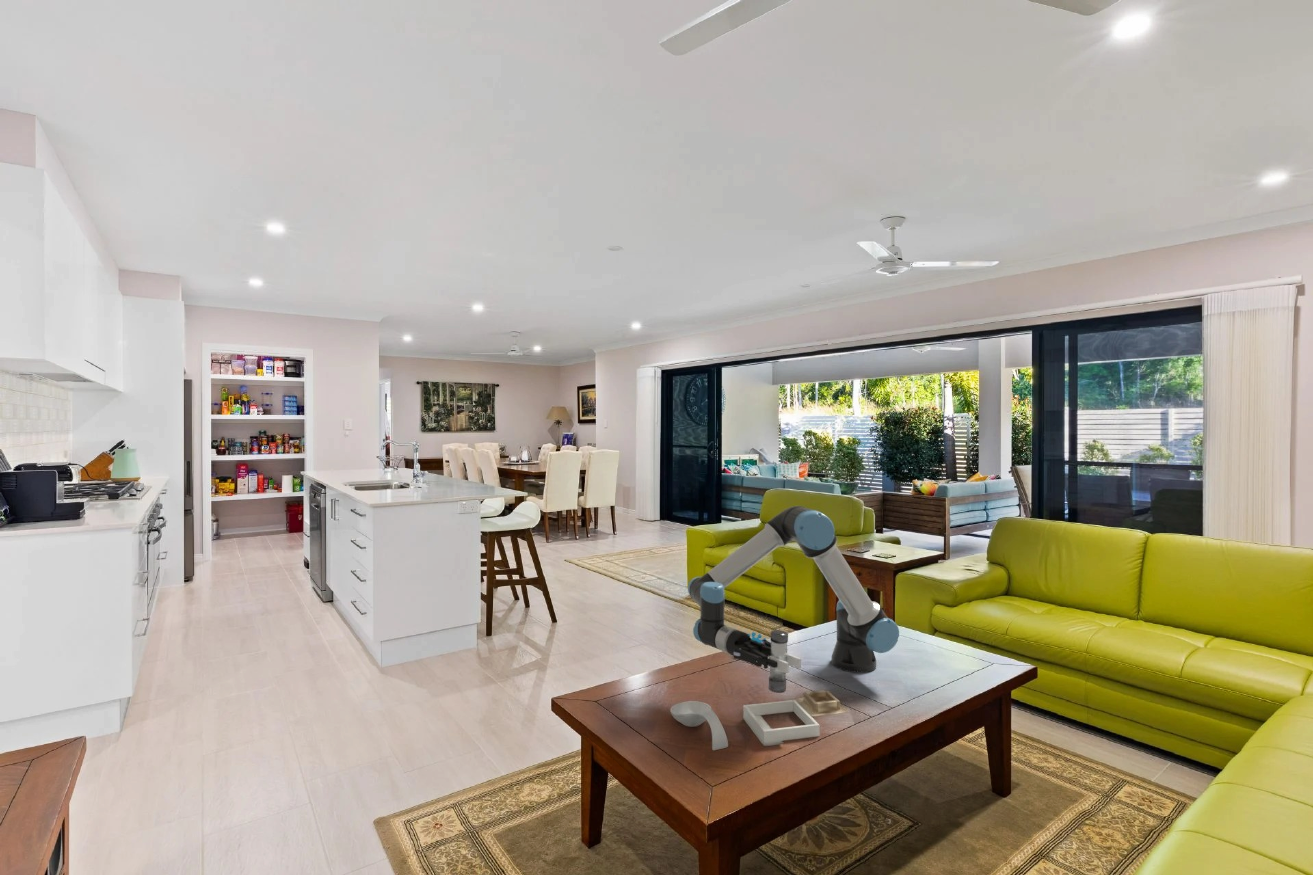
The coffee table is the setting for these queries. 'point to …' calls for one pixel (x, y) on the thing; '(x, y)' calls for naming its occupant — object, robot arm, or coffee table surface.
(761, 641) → the gear
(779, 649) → the capped clear cylinder
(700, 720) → the spoon rest
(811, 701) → the socket block
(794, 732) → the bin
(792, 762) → the coffee table surface
